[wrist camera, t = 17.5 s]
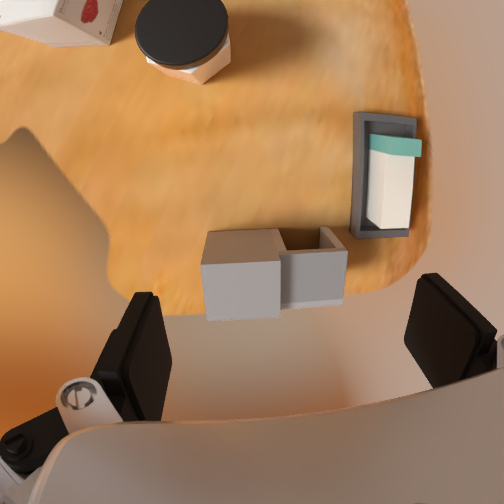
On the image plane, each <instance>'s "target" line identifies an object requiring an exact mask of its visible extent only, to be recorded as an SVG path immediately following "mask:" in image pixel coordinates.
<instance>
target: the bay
mask: <svg viewBox="0 0 504 504" xmlns="http://www.w3.org/2000/svg"><path fill="white" fill-rule="evenodd" d="M347 256H348V250H347V249H346V248H345V247H344V246H343V244H342V243H341V242H340V241H339V239H338V238H337V237H336V236H335V235H334V233H333V232H332V231H331V230H330V229H329V227H328V226H320V243H319V249H308V250H289V251H287V250H286V247H285V245H284V242H283V240H282V237H281V235H280V232H279V230H278V228H273V229H253V230H233V231H215V232H208V233H207V238H206V242H205V246H204V251H203V255H202V260H201V265H200V266H201V275H202V283H203V292H204V300H205V308H206V316H207V321H221V320H241V319H242V320H243V319H260V318H275V317H280V310H282V309H297V308H309V307H321V306H332V305H342V304H343V296H344V287H345V277H346V267H347Z"/></svg>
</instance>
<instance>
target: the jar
mask: <svg viewBox="0 0 504 504" xmlns="http://www.w3.org/2000/svg"><path fill="white" fill-rule="evenodd" d="M135 37H136V41H137V44H138V46H139V48H140V50H141V51H142V52H143V53H144V54H145V55H146V58H147V62H148V63H149V64H151V65H152V66H154V67H155V68H157V69H158V70H160V71H161V72H163V73H164V74H166V75H168V76H171V77H175V78H179V79H182V80H186V81H189V82H193V83H196V84H199V85H202V84H203V83H205V82H206V81H207V80H208V79H210V78H211V77H212V76H213V75H215V74H216V73H217V72H218V71H220V70H221V69H222V68H224V67H225V66H226V65H228V64H229V63H230V62H231V48H230V39H229V33H228V15H227V11H226V8H225V6H224V4H223V3H222V1H221V0H150V1H149V2H148V3H147V4H146V5H145V6H144V7H143V9H142V10H141V12H140V14H139V16H138V18H137V21H136V25H135Z"/></svg>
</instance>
